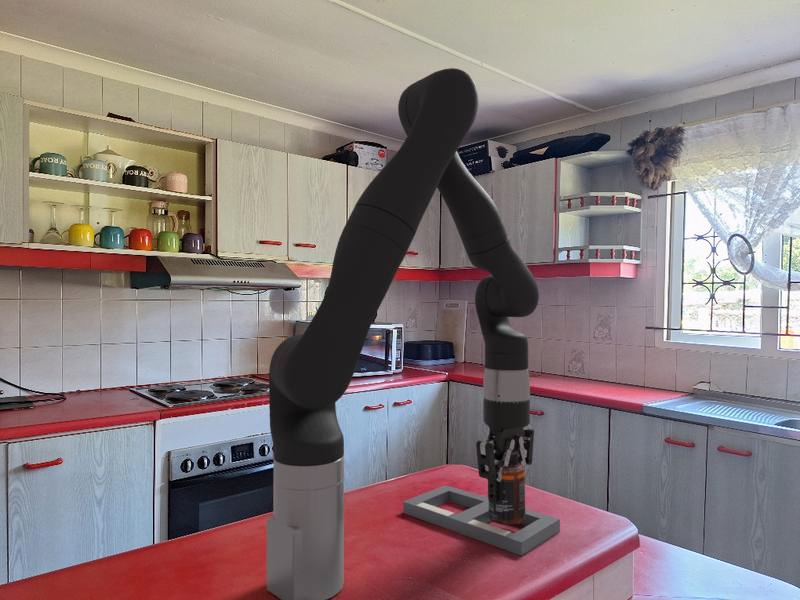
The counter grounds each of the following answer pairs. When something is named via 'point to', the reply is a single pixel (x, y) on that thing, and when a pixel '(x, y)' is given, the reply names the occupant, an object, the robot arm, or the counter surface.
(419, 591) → the counter surface
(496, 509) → the supplement bottle
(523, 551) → the socket panel
